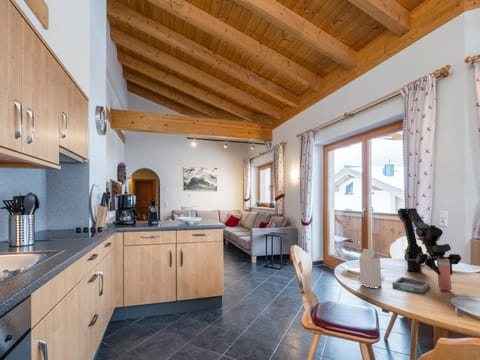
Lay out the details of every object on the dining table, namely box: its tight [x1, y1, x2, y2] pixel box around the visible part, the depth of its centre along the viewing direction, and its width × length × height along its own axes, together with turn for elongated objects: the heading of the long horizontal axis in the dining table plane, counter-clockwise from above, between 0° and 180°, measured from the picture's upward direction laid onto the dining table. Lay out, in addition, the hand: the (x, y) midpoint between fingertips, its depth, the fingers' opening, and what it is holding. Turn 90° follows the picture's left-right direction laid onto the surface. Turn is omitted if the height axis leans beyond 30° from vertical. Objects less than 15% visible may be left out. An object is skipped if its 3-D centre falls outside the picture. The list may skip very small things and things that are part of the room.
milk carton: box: [358, 248, 383, 288], centre depth 139 cm, size 7×7×19 cm
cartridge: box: [436, 258, 452, 291], centre depth 130 cm, size 5×5×14 cm
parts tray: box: [391, 276, 430, 295], centre depth 135 cm, size 13×13×2 cm
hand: (445, 274), depth 128 cm, fingers closed on cartridge, 5 cm apart
